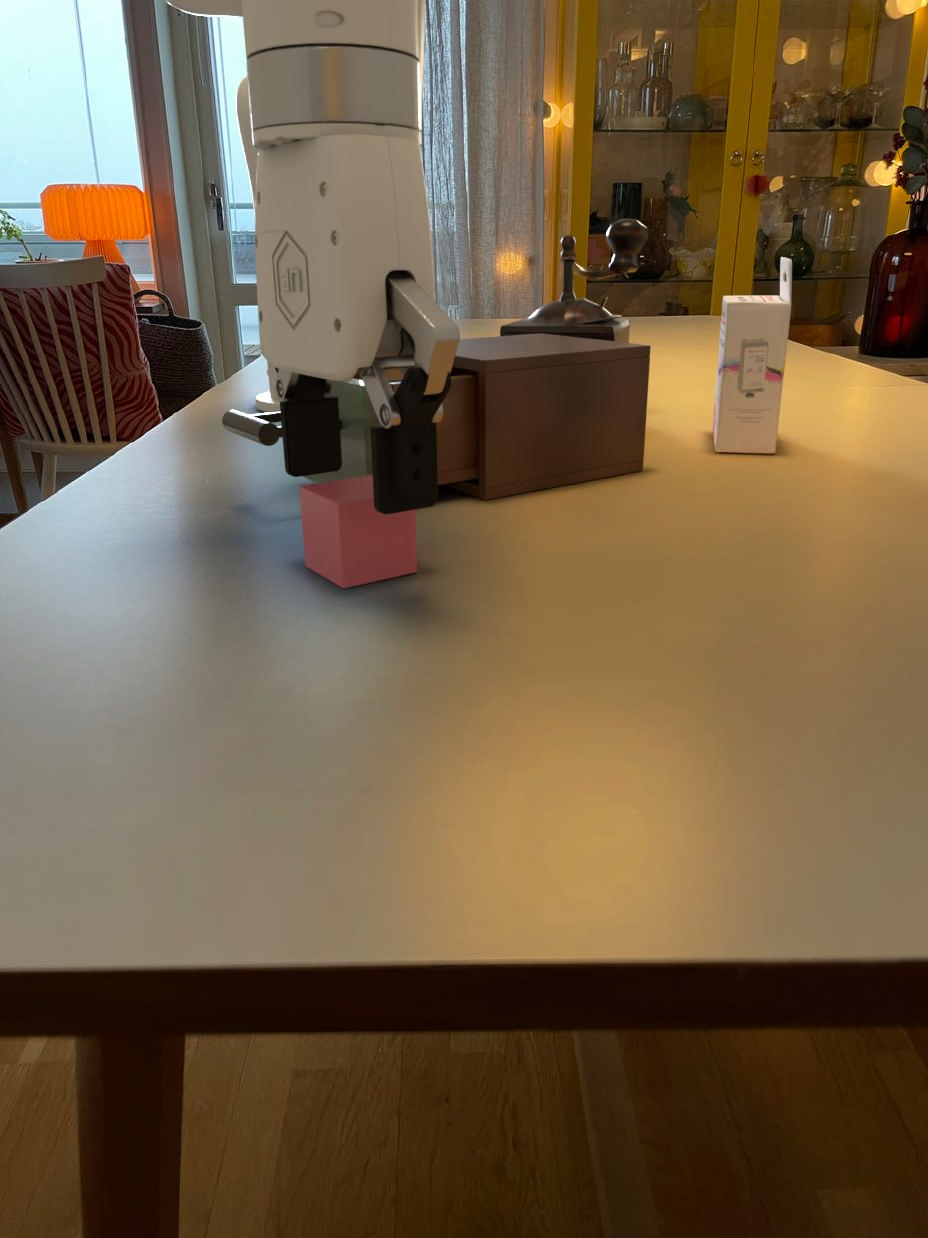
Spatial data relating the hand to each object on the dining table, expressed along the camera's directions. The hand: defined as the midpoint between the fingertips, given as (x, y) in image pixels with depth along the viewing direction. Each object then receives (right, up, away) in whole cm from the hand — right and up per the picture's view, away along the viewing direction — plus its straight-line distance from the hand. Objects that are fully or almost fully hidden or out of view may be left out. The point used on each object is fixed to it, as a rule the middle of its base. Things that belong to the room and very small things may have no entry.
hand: (356, 489), depth 48 cm
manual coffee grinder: (+16, +12, +42) cm, 47 cm away
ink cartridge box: (+29, +8, +32) cm, 44 cm away
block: (0, -4, +2) cm, 4 cm away
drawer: (-1, +3, +17) cm, 17 cm away
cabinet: (+9, +5, +24) cm, 26 cm away
